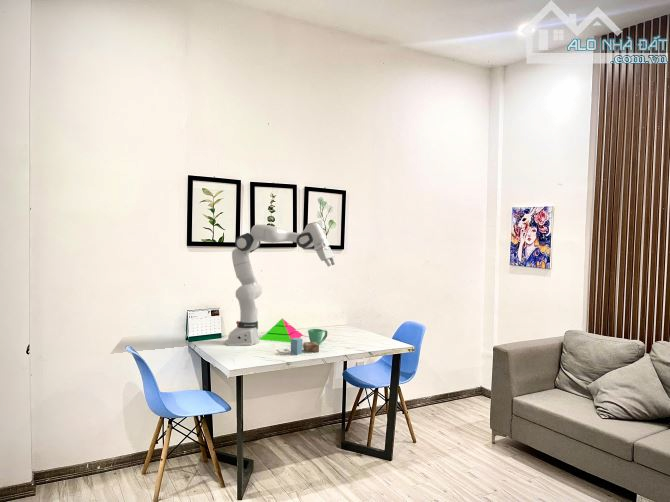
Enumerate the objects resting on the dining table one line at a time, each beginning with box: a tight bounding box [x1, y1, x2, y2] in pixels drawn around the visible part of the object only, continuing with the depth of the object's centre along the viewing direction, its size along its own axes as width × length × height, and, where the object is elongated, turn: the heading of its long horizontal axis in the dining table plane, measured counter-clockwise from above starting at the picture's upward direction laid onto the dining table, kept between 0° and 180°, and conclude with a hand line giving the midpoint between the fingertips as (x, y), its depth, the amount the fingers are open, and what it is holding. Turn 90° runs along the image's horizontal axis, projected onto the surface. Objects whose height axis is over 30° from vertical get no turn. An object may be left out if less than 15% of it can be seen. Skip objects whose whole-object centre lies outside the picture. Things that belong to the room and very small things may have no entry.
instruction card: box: [276, 347, 291, 353], centre depth 296 cm, size 10×7×1 cm
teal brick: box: [290, 337, 303, 356], centre depth 289 cm, size 5×5×9 cm
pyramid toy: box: [259, 318, 304, 343], centre depth 332 cm, size 25×25×14 cm
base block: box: [302, 341, 320, 354], centre depth 296 cm, size 8×8×5 cm
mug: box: [307, 328, 328, 345], centre depth 312 cm, size 15×10×10 cm
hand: (331, 265), depth 299 cm, fingers open, 8 cm apart
